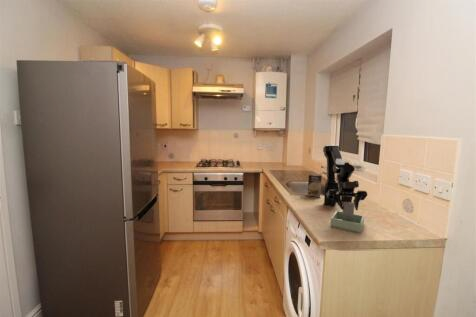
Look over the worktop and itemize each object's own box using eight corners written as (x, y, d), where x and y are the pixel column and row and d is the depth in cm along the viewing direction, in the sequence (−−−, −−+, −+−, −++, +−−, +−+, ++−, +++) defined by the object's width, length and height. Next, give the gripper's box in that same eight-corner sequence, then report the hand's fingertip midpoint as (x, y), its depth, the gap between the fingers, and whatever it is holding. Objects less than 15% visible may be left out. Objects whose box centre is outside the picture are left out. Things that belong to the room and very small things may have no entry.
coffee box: (307, 196, 169) (308, 174, 167) (307, 194, 175) (308, 173, 173) (320, 197, 166) (321, 175, 164) (320, 195, 172) (321, 174, 170)
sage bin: (330, 226, 117) (331, 218, 116) (335, 218, 128) (336, 210, 127) (360, 233, 109) (361, 224, 109) (363, 224, 121) (364, 215, 120)
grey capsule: (340, 223, 119) (340, 202, 118) (346, 221, 121) (347, 201, 120) (349, 226, 115) (349, 205, 113) (355, 224, 117) (356, 203, 116)
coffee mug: (352, 204, 153) (353, 189, 152) (338, 201, 158) (339, 187, 157) (354, 199, 163) (355, 185, 162) (341, 197, 168) (342, 184, 166)
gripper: (329, 174, 120) (334, 201, 111) (367, 175, 118) (375, 203, 109) (324, 185, 129) (328, 211, 120) (360, 186, 127) (367, 213, 117)
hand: (349, 209), depth 116 cm, fingers open, 7 cm apart
